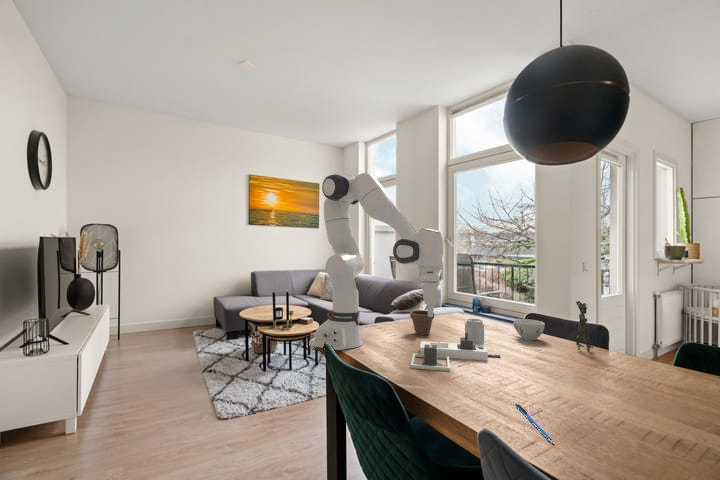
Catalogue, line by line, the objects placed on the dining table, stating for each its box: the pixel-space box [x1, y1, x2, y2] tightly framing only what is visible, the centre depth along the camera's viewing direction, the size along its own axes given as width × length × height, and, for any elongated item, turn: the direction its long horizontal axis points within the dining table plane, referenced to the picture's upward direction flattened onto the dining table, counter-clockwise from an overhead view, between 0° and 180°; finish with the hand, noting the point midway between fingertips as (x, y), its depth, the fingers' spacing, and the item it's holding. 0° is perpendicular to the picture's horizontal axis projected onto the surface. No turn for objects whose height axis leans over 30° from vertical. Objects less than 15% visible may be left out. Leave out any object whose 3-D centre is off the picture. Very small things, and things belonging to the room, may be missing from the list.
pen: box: [515, 403, 553, 440], centre depth 85 cm, size 1×19×1 cm, turn 179°
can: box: [464, 318, 485, 345], centre depth 144 cm, size 8×8×12 cm
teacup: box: [512, 318, 546, 341], centre depth 161 cm, size 15×12×8 cm
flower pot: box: [409, 309, 435, 336], centre depth 170 cm, size 12×11×10 cm
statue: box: [575, 300, 595, 352], centre depth 142 cm, size 5×6×20 cm
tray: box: [410, 352, 451, 372], centre depth 125 cm, size 13×13×2 cm
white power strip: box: [419, 340, 501, 361], centre depth 134 cm, size 29×9×5 cm, turn 77°
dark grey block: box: [423, 344, 438, 366], centre depth 125 cm, size 4×4×6 cm
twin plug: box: [459, 331, 473, 350], centre depth 134 cm, size 4×4×8 cm
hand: (430, 313), depth 125 cm, fingers open, 8 cm apart
